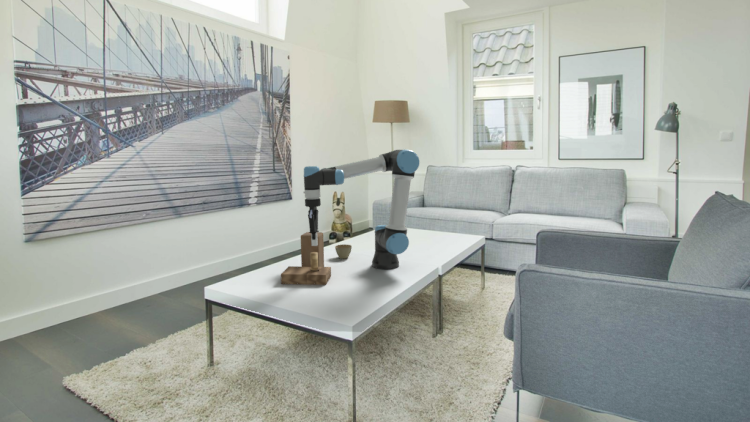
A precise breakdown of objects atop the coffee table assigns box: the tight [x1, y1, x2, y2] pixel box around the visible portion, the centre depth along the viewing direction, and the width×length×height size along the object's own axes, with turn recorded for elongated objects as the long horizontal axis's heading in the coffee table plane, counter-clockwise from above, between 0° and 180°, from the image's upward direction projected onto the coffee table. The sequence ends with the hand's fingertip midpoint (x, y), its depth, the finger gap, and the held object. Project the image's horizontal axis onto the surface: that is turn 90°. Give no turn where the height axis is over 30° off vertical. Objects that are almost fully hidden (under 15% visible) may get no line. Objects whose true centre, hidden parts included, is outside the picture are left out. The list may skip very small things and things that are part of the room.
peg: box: [310, 252, 318, 272], centre depth 215 cm, size 4×4×14 cm
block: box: [300, 231, 325, 267], centre depth 233 cm, size 10×10×20 cm
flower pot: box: [334, 243, 353, 260], centre depth 259 cm, size 10×10×7 cm
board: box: [280, 265, 332, 286], centre depth 216 cm, size 22×14×5 cm, turn 86°
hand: (314, 245), depth 213 cm, fingers closed
